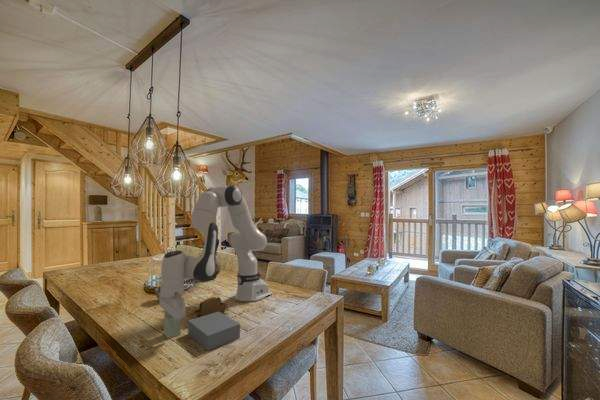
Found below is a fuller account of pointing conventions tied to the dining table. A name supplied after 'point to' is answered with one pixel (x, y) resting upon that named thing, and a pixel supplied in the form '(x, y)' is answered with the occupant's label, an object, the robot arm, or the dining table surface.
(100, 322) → the dining table surface
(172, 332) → the sage block
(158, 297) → the flower pot
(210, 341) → the slate block
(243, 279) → the robot arm
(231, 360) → the dining table surface
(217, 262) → the ceramic jug
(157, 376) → the dining table surface
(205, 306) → the wooden carving
